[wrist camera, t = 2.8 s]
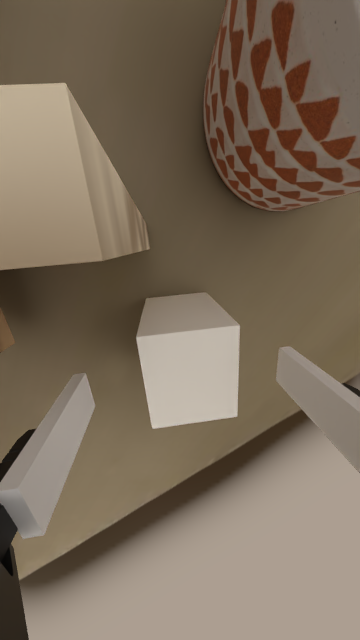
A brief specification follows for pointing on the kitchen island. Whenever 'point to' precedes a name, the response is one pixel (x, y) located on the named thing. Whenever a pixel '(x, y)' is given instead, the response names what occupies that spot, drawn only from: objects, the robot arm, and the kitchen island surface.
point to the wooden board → (58, 187)
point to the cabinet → (188, 359)
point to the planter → (285, 101)
